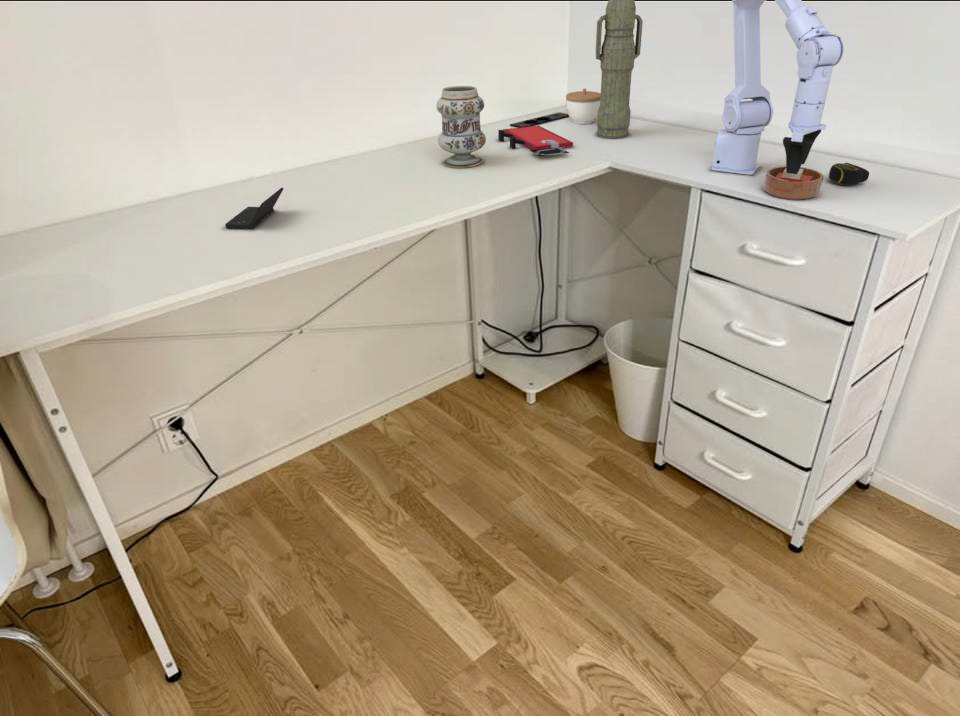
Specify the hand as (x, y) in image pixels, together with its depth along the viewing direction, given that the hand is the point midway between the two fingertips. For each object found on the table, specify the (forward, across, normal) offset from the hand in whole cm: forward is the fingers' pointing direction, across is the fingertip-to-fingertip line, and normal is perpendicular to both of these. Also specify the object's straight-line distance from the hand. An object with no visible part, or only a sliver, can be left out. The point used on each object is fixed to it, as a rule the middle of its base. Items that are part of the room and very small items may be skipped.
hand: (795, 168), depth 148 cm
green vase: (+6, +30, +53) cm, 61 cm away
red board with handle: (+6, +12, +68) cm, 69 cm away
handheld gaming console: (+6, -65, +94) cm, 114 cm away
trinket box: (+6, +41, +67) cm, 79 cm away
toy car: (+5, 0, 0) cm, 5 cm away
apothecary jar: (+6, -11, +77) cm, 78 cm away
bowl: (+5, 0, 0) cm, 5 cm away
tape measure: (+5, +12, -9) cm, 16 cm away
